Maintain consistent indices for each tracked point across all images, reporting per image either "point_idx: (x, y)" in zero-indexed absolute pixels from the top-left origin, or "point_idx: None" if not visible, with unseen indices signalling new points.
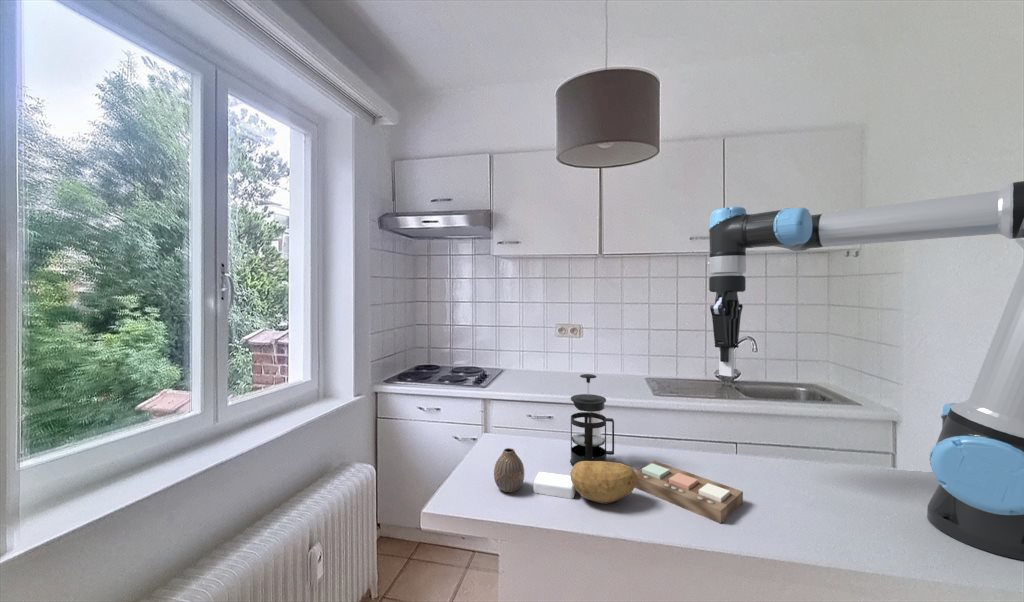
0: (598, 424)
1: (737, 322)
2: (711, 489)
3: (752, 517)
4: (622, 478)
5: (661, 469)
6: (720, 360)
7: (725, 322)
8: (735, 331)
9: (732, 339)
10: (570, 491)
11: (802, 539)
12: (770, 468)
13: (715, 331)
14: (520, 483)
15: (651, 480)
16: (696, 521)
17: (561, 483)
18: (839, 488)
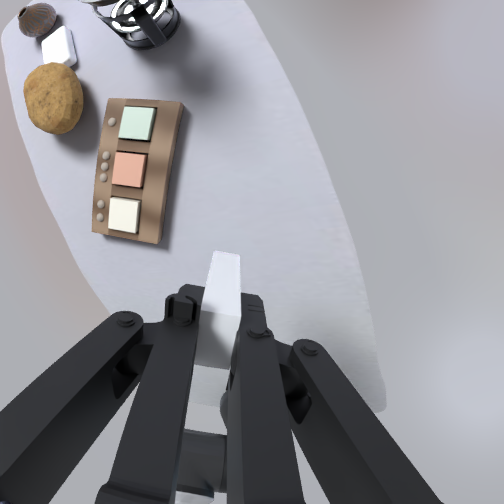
0: (104, 19)
1: (326, 493)
2: (122, 212)
3: (135, 253)
4: (40, 127)
5: (139, 130)
6: (182, 286)
7: (63, 470)
8: (302, 438)
9: (229, 400)
10: None
11: (129, 298)
12: (311, 255)
13: (58, 374)
14: (37, 36)
15: (108, 131)
16: (86, 204)
17: (46, 62)
18: (289, 327)
